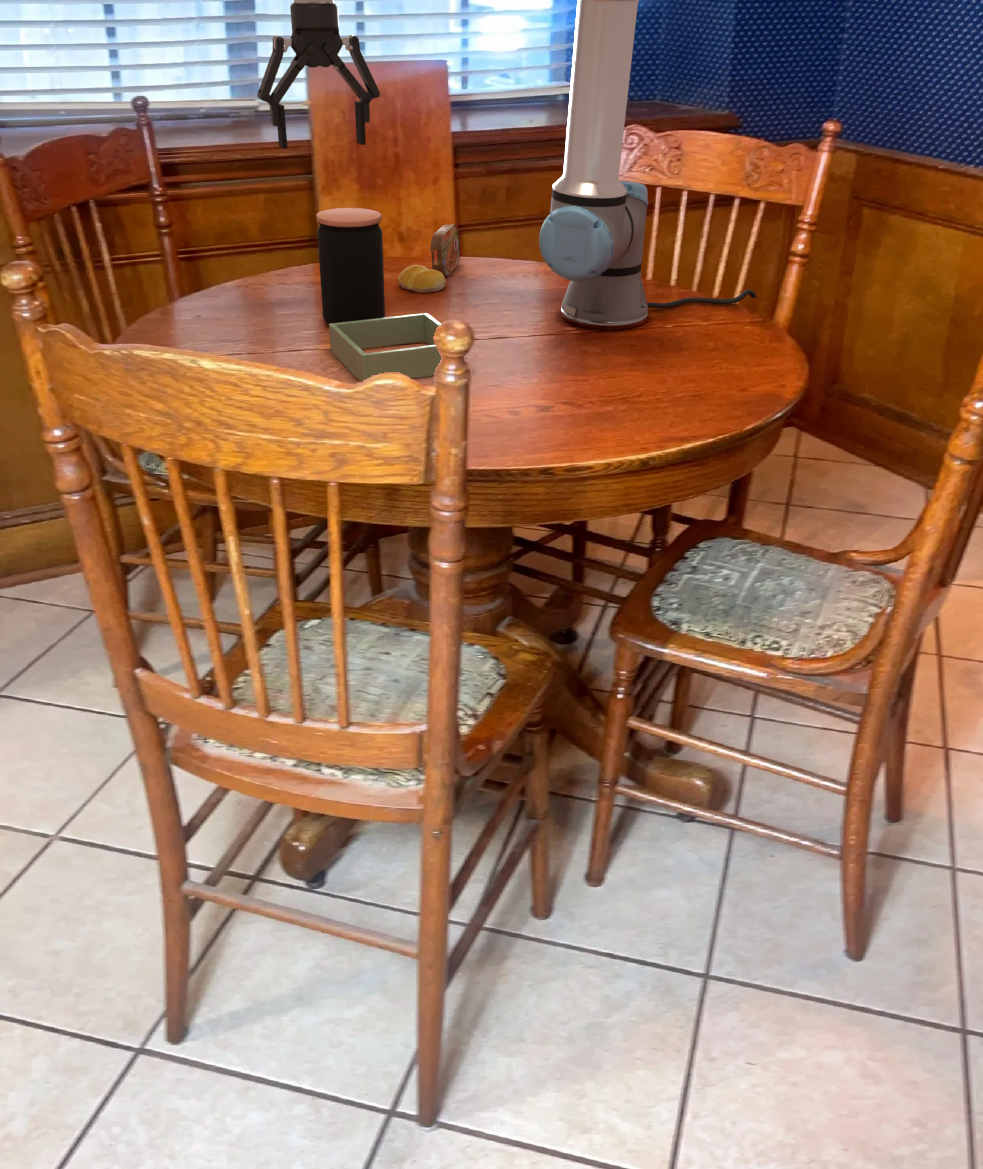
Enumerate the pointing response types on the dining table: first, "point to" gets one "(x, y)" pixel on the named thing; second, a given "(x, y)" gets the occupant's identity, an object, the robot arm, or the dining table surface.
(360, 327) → the tray
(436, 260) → the tin
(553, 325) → the dining table surface
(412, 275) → the bread roll
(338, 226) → the coffee jar
